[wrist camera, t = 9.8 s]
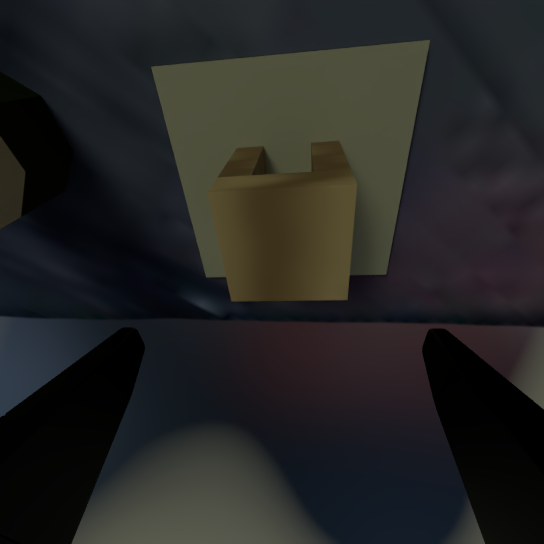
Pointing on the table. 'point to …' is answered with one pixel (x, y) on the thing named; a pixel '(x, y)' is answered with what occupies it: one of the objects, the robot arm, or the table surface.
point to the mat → (299, 129)
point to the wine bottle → (28, 152)
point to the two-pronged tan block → (285, 226)
